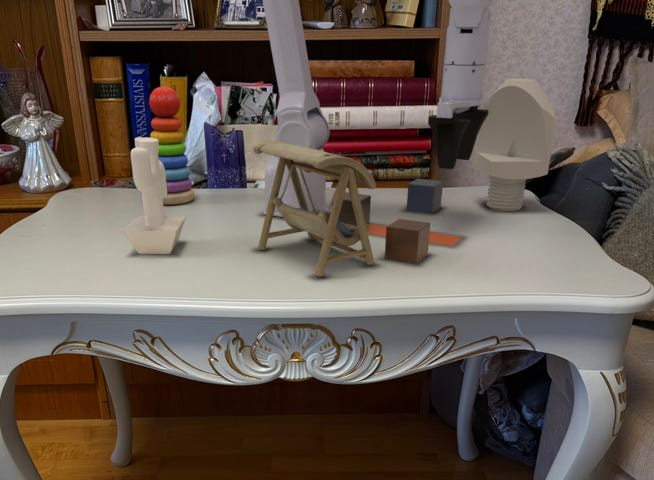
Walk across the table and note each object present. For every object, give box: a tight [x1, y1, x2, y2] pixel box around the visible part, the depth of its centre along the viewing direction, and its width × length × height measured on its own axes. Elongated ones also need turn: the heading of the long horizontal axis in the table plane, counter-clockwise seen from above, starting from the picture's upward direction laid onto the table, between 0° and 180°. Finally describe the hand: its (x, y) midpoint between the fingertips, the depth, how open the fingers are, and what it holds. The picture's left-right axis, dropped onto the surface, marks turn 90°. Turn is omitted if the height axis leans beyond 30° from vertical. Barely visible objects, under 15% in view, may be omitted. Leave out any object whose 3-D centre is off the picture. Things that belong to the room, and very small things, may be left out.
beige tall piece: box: [473, 78, 557, 212], centre depth 109 cm, size 9×9×20 cm
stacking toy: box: [148, 86, 195, 206], centre depth 114 cm, size 8×8×19 cm
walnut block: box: [384, 218, 431, 265], centre depth 89 cm, size 4×4×4 cm
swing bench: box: [252, 140, 377, 278], centre depth 86 cm, size 15×10×15 cm, turn 34°
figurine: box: [122, 136, 187, 255], centre depth 90 cm, size 7×9×15 cm
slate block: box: [406, 178, 444, 215], centre depth 111 cm, size 4×4×4 cm
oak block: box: [331, 191, 372, 226], centre depth 102 cm, size 4×4×4 cm
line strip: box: [367, 223, 463, 247], centre depth 100 cm, size 21×5×1 cm, turn 61°
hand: (454, 163), depth 99 cm, fingers open, 7 cm apart
